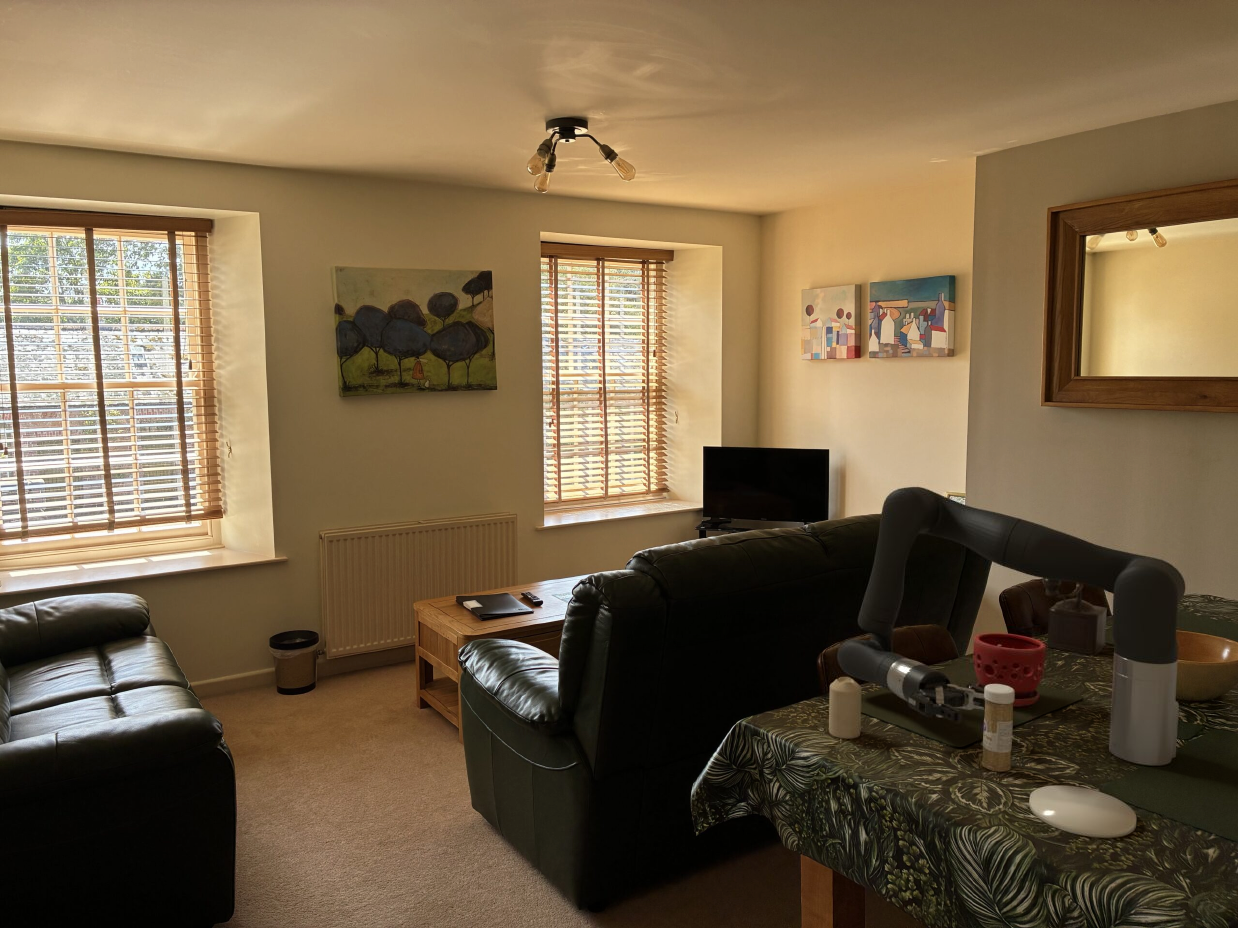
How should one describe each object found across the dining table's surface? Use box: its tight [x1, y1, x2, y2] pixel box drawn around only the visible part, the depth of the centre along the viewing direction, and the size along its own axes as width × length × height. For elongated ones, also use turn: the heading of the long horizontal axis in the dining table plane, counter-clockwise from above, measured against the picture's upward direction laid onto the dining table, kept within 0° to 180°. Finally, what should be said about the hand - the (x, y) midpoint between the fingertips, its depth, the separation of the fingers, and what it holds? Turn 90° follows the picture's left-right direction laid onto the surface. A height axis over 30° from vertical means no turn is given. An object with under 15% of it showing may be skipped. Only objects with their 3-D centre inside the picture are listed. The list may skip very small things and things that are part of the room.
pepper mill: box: [1042, 578, 1108, 657], centre depth 212 cm, size 16×11×18 cm
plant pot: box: [972, 632, 1047, 707], centre depth 181 cm, size 13×13×12 cm
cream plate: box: [1028, 784, 1137, 839], centre depth 134 cm, size 14×14×1 cm
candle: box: [828, 676, 862, 740], centre depth 164 cm, size 6×6×10 cm
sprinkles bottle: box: [981, 684, 1015, 772], centre depth 149 cm, size 5×5×14 cm
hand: (981, 714), depth 153 cm, fingers open, 8 cm apart
